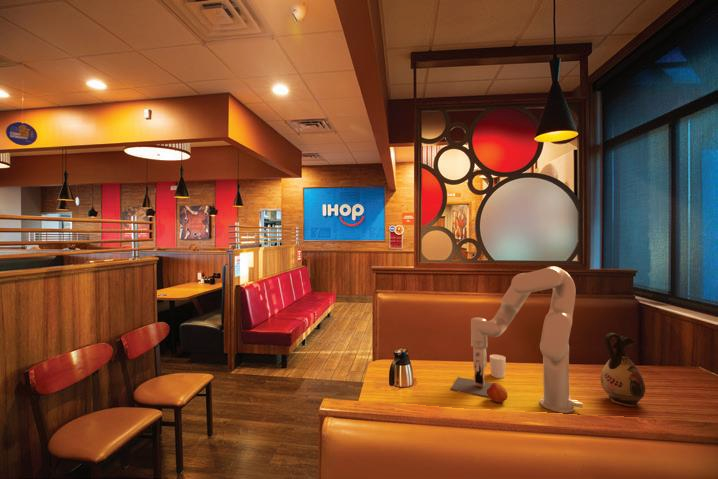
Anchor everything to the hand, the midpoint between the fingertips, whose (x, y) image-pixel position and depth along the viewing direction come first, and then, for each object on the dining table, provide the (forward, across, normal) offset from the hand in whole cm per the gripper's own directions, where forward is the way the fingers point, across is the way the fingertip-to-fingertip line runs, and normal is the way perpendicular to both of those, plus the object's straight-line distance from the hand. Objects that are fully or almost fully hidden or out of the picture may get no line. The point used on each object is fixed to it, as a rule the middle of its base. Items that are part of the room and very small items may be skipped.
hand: (479, 380), depth 162 cm
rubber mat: (+3, -1, +3) cm, 5 cm away
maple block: (+2, 0, 0) cm, 2 cm away
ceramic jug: (+4, +14, -57) cm, 59 cm away
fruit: (+4, -11, -9) cm, 15 cm away
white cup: (+4, +20, -6) cm, 21 cm away
